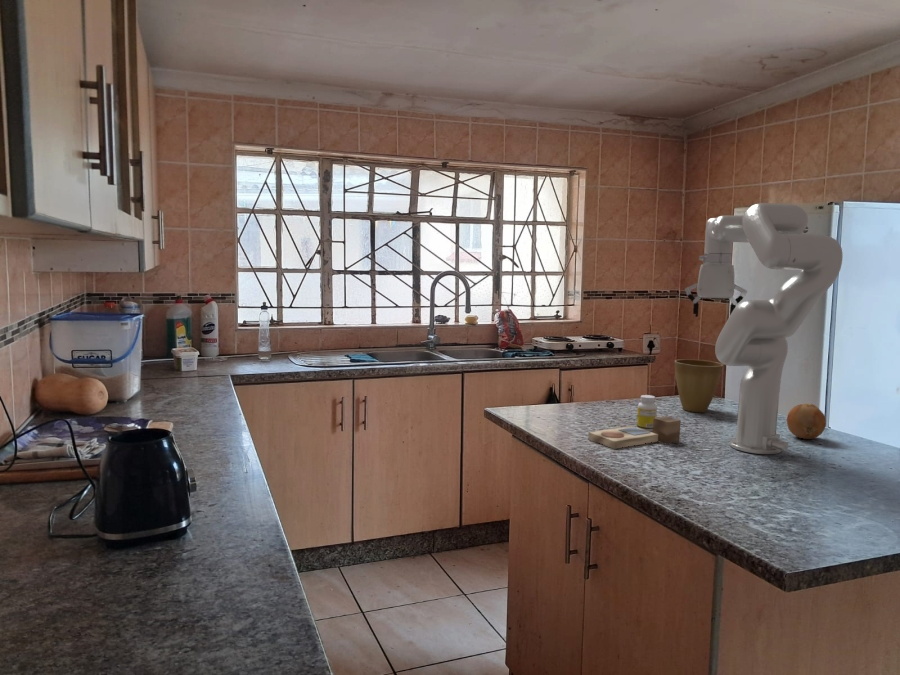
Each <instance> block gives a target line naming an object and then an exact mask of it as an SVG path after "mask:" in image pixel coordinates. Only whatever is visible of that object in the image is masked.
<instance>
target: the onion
mask: <svg viewBox="0 0 900 675" xmlns="http://www.w3.org/2000/svg"><path fill="white" fill-rule="evenodd" d="M786 424H787V429H788V431H789V432H790V433H791V434H792V435H794V436H795V437H797V438H798V437H799V438H798V439H801V438H803V439H802V440H812V439H815V438H817V437H819V436H820V435H821V436H822V434H823V433H824V431H825V429H826V427H827V426H826V425H827V420H826V416H825V414H824V412H823V411H822V410H821V409H820V408H819V407H818V406H817V405H815V404H812V403H802V404H797V405H794V406H793V407H792V408H791V409H790V410H789V412H788V414H787V416H786Z"/></svg>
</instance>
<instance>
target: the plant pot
mask: <svg viewBox="0 0 900 675" xmlns="http://www.w3.org/2000/svg"><path fill="white" fill-rule="evenodd" d="M723 367H724V364H722V363H721V362H716V361H711V360H704V359H692V358H691V359H689V358H687V359H685V358H684V359H681V358H680V359H676V360H674V369H675V372H674V373H675V381H676V387H677V391H678V392H677V393H678V396H679V400H680V403H681V407H682V409H683V410H685V411H687V412H692V413H705V412H707V410H708V408H709V407H710V405H711V403H712V400H713V398H714V396H715V393H716V390H717V388H718V385H719V381H720V379H721V374H722V370H723Z"/></svg>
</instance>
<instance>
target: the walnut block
mask: <svg viewBox="0 0 900 675" xmlns="http://www.w3.org/2000/svg"><path fill="white" fill-rule="evenodd" d="M652 433H656V434H658V442H659V441H660V442H659V443H662V442H663V444H665V443H666V445H667V443H668V444H673V443H672V442H674V443H678V442H677V441H679V442H680V437H681V436H680V434H681V419H676V418H674V417H669V416H668V415H667V416H660V417H657V418H654V419H653V431H652Z"/></svg>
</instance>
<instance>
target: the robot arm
mask: <svg viewBox="0 0 900 675" xmlns="http://www.w3.org/2000/svg"><path fill="white" fill-rule="evenodd" d="M808 223H809V216H808V213H807V211H806V210H805V209H804V208H803V207H801V206H799V205H797V204H793V203H774V202H773V203H770V202H769V203H768V202H760V203H754V204H753V205H750V207H748V208H747V209H746V211H745V213H744V215H732V214H731V215H727V214H726V215H720V216H717V217H711V218H709V219H707V220H706V224H705V235H704V236H705V239H704V241H705V242H704V254H703V255H699V256H698V261H702V262H703V263H702V264H701V265H700V267H699V272H698V279H697V282H696V283H694V284H692V285H690V286H688V287H685V289H684V292H685V293H686V296H687V298H688V299H689V300H690V301H691V302H692V303H693V309H692V310H693V312H692V314H693V315H695V318H697V317H699V307H700V306H699V305H700V304H699V301H700V300H701V299H702V298H705V299H706V298H707V299H728V300H729V301H730V303H731V304H730V306H729V317H728V319H727V321H726V322H725V324H724V326H723V327H722V329H721V331H720V333H719V335H718V337H717V339H716V342H715V347H714V348H715V349H714V351H715V357H716V359H717V360H718V361H719V363H721V364H723V366H724V365H725V366H730V367H747V369H746V370H745V372H744V373H743V375H742V377H741V379H740V385H739V392H738V393H739V395H738V406H737V407H738V409H737V421H736V436H735V437H733V438H730V439H729V446H730V447H732V449H734V450H738V451H741V452H745V453H751V454H756V455H757V454H758V455H775V454H779V453H781V452H782V451H783V452H785V451H787V449H788V446H789V442H788V441H785V440H781V439H780V437H781V436H780V435H781V434H779V433H777V428H778V426H777V424H778V417H779V416H778V415H779V402H780V401H779V400H780V390H781V383H782V381H781V380H782V374H783V369H784V365H785V362H786V358H787V355H788V352H789V351H788V350H789V348H788V340H787V339H786V338H789V337H792V335H793V336H794V334H795V333H796V332H797V331H798V329H799V328H800V327H801V325H802V324H803V322H804V320H805V319H806V318H807V317H808V315H809V314H810V312H811V310H812V309H813V307H814V306H815V305H816V303H817V302H818V301H819V299H821V297H822V296H823V295H824V294H825V293H826V292H827V291H828V290H829V289H830V287H831V286H832V285H833V284H834V283H835V281H836V280H837V277H838V276H839V274H840V271H841V268H842V264H843V256H844V255H843V254H844V253H843V249H842V248H843V247H841V244H840V243H839V241H838V240H837V239H835V238H834V237H832V236H829V235H825V234H819V233H805V232H804V231H805V230H806V228H807V226H808ZM803 232H804V233H803ZM733 243H749V244H750V246H751V248H752V250H753V251H754V254H755V255H756V257H757V258H758V260H759V262H760V263H761V265H763V267H764V268H765V267H766V268H767V269H771V270H783V271H784V270H788V271H789V270H790V271H791V270H792V271H797V270H798V271H799V272H798V273H796V274H794V275H793V276H792V277H789V278H788V279H787V280H786V281H785V282H784V283H783V284H781V285H780V287H779V289H778V290H777V292H776V294H775V295H774V296H773V297H772V298H770V299H754V300H753V299H751V300H750V299H749V300H744V301H742V300H743V299H744V298H745V296H746V295H747V293H748V290H746V289H745V288H743V287H741V286H739V285H737V284H736V283H735V279H736V278H735V266H734V265H733V264H731V263H732V255H733V254H732V253H733ZM694 289H696V293H697V294H696V296H693V294H692V292H691V291H692V290H694ZM735 290H736V291H738V292H739V293H740V294H739V296H738V297H737V298H734V294H735ZM741 301H742V302H741Z"/></svg>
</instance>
